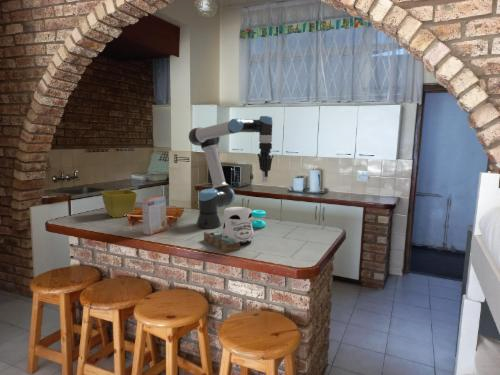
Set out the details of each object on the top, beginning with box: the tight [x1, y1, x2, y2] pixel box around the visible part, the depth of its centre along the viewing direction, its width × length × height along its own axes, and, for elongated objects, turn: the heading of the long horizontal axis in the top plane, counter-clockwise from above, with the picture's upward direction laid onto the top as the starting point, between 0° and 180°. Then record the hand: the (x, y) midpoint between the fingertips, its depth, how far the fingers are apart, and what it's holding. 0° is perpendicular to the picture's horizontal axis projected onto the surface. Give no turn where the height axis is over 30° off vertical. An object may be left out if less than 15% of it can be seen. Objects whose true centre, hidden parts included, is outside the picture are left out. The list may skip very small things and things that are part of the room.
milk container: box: [221, 206, 254, 245], centre depth 196 cm, size 17×17×18 cm
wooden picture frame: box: [203, 231, 241, 253], centre depth 191 cm, size 24×9×4 cm, turn 33°
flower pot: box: [101, 189, 138, 219], centre depth 252 cm, size 19×19×17 cm
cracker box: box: [141, 195, 168, 236], centre depth 211 cm, size 14×6×21 cm, turn 149°
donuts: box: [252, 209, 267, 229], centre depth 228 cm, size 10×10×10 cm
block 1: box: [214, 231, 223, 241], centre depth 196 cm, size 4×4×4 cm
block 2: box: [222, 237, 234, 245], centre depth 187 cm, size 4×4×4 cm
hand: (264, 182), depth 213 cm, fingers closed
